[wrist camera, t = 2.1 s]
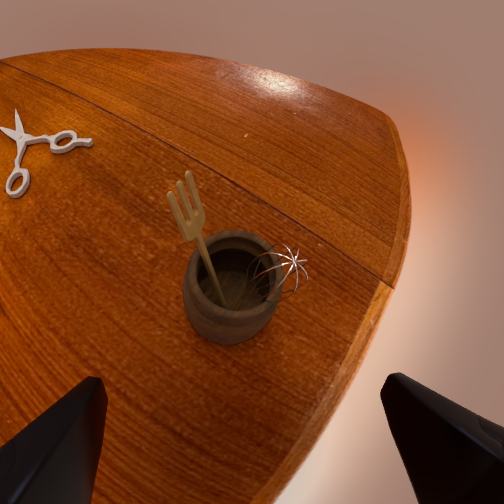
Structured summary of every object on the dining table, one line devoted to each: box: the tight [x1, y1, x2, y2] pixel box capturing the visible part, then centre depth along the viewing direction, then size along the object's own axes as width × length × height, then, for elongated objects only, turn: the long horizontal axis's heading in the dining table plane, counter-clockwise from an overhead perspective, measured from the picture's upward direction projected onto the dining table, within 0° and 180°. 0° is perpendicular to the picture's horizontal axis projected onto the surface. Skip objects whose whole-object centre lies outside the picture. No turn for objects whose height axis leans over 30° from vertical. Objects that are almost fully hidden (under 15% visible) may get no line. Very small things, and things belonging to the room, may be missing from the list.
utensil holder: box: [167, 171, 308, 345], centre depth 16 cm, size 6×6×12 cm
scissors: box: [0, 109, 93, 198], centre depth 25 cm, size 11×1×20 cm
